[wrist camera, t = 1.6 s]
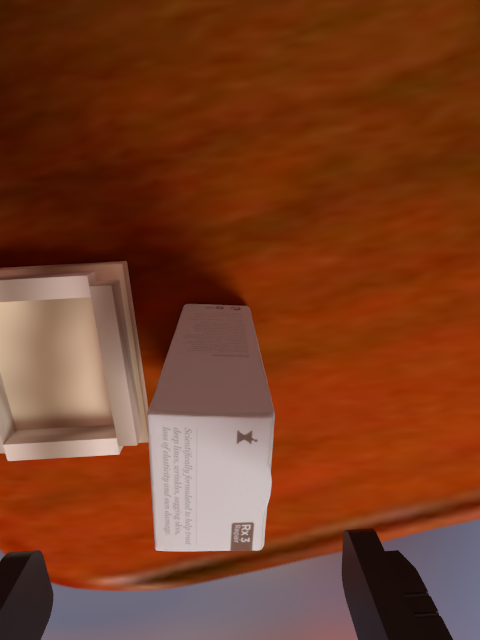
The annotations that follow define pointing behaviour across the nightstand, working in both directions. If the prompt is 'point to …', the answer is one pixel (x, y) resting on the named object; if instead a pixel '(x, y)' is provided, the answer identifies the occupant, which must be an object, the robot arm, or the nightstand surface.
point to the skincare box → (211, 435)
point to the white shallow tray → (69, 362)
